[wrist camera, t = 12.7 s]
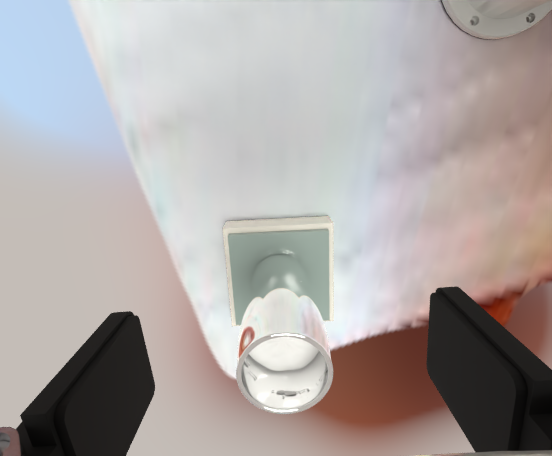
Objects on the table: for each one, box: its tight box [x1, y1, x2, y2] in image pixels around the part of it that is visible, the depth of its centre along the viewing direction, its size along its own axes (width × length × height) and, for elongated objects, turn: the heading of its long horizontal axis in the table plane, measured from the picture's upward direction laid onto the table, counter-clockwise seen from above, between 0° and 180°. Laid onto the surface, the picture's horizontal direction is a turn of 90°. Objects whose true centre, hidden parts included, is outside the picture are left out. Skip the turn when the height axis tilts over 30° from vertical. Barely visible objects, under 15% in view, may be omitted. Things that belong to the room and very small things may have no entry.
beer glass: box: [236, 255, 333, 414], centre depth 29 cm, size 7×7×15 cm
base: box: [223, 216, 334, 326], centre depth 39 cm, size 12×12×4 cm
